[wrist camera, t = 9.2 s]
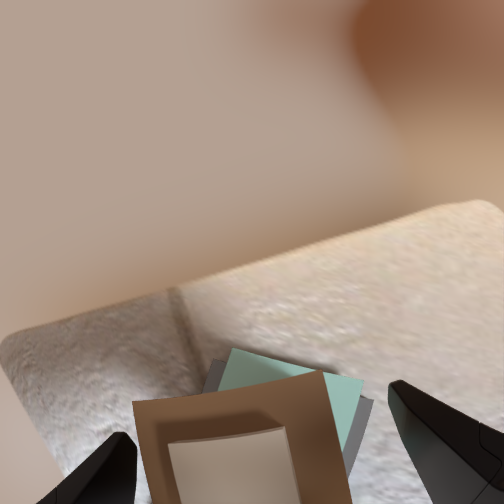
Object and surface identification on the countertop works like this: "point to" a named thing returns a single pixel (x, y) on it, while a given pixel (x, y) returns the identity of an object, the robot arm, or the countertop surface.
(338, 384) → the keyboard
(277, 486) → the brown wooden block
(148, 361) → the countertop surface
